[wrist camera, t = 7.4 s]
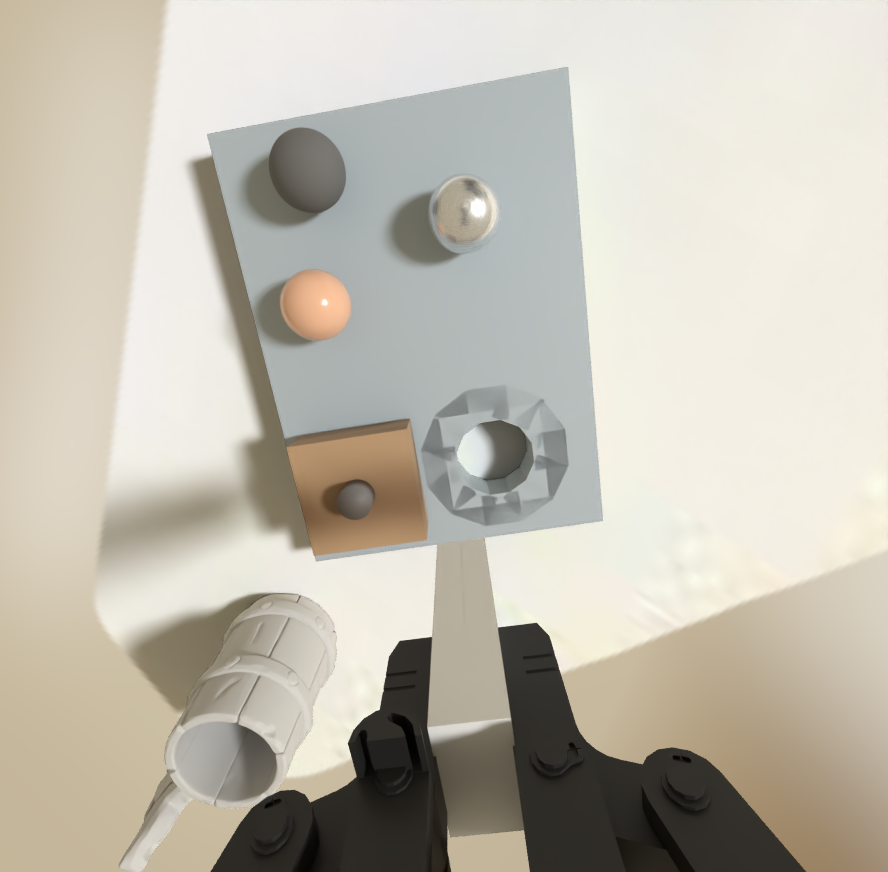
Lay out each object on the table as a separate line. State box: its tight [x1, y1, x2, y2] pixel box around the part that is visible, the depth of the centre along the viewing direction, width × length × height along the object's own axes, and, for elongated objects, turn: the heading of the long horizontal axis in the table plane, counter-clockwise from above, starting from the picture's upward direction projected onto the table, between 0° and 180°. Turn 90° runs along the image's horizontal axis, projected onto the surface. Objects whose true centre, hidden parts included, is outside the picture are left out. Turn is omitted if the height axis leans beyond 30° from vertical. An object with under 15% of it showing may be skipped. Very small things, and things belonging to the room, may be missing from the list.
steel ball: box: [428, 173, 501, 254], centre depth 22 cm, size 4×4×4 cm
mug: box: [119, 594, 337, 872], centre depth 28 cm, size 8×12×12 cm, turn 135°
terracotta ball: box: [280, 269, 352, 341], centre depth 23 cm, size 4×4×4 cm
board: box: [207, 67, 603, 561], centre depth 27 cm, size 24×18×2 cm
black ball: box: [269, 127, 346, 213], centre depth 22 cm, size 4×4×4 cm
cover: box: [286, 419, 429, 556], centre depth 25 cm, size 6×6×4 cm
